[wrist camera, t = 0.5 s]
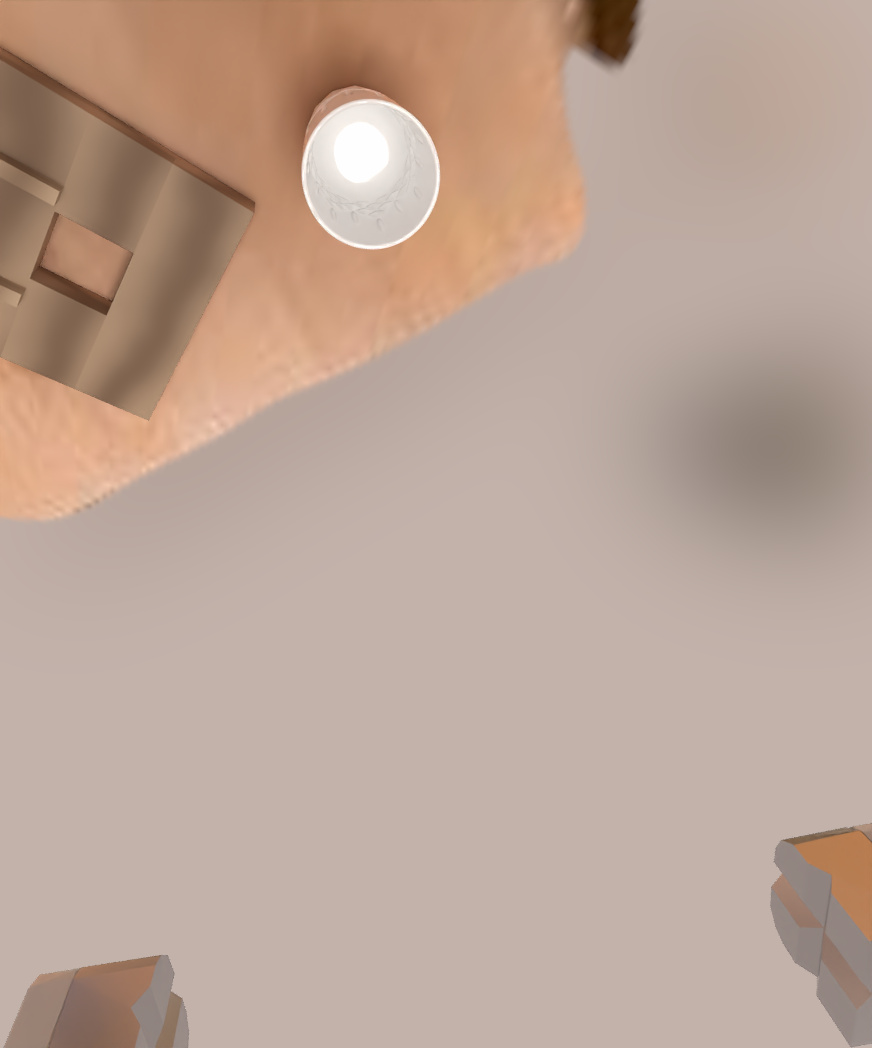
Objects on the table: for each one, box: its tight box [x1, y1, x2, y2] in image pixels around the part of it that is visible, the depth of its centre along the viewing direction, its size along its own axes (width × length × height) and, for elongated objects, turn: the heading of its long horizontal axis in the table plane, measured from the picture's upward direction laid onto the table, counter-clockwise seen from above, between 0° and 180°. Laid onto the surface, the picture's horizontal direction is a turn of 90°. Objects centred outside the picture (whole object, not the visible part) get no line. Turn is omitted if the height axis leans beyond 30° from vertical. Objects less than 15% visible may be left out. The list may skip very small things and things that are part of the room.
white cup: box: [302, 85, 440, 249], centre depth 45 cm, size 8×8×10 cm
